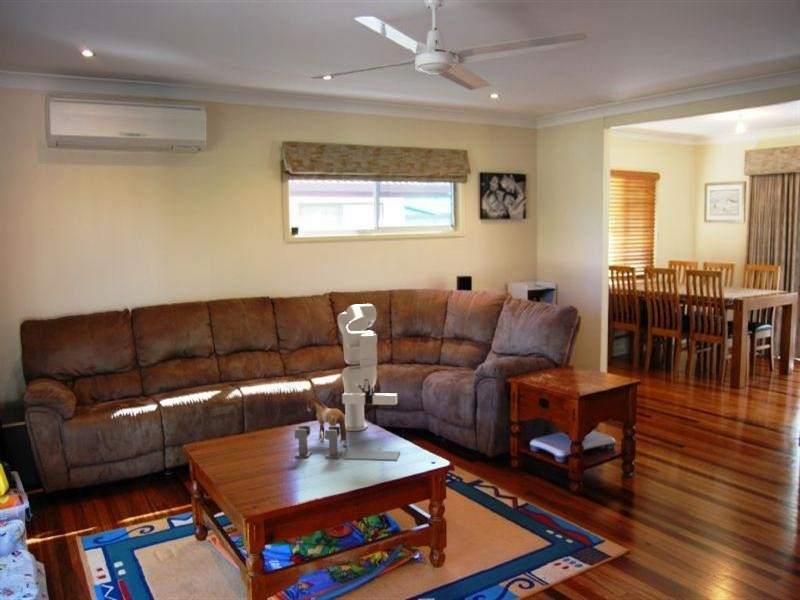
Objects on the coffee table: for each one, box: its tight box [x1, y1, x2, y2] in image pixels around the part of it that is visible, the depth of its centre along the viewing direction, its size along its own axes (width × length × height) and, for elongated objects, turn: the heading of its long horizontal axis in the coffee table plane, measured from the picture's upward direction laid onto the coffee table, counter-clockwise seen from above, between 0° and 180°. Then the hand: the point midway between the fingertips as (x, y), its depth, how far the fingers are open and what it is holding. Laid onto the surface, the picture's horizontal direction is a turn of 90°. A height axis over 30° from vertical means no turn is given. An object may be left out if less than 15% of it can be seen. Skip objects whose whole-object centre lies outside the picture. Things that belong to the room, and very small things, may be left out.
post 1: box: [294, 424, 313, 459], centre depth 302 cm, size 7×6×13 cm
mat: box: [342, 449, 401, 461], centre depth 300 cm, size 10×24×1 cm, turn 81°
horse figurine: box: [305, 396, 348, 447], centre depth 318 cm, size 31×8×21 cm, turn 39°
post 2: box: [324, 425, 343, 460], centre depth 300 cm, size 7×6×13 cm
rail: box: [341, 392, 398, 406], centre depth 297 cm, size 4×24×4 cm, turn 81°
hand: (369, 402), depth 297 cm, fingers closed on rail, 4 cm apart
